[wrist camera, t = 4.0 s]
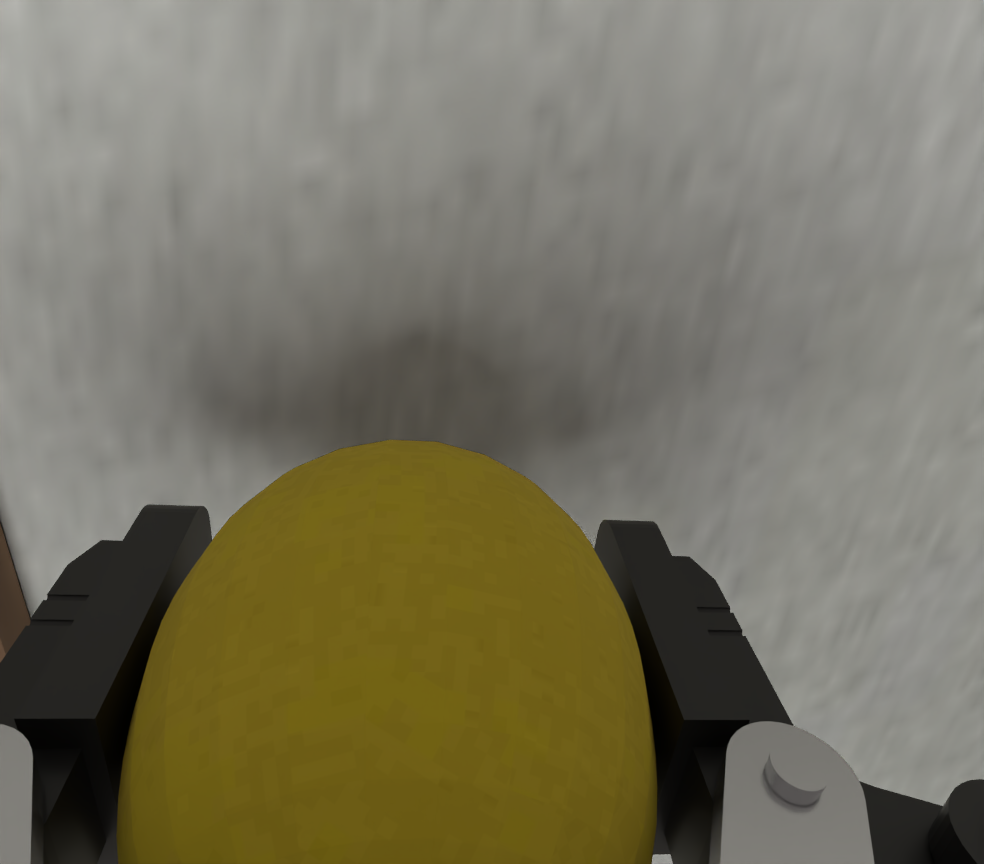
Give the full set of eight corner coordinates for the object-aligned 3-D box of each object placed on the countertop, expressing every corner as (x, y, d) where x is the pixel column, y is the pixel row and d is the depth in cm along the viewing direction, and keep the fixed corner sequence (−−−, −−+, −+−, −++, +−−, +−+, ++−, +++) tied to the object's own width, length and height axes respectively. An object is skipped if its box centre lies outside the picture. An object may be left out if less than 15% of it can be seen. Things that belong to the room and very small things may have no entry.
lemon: (220, 336, 10) (-239, 991, 3) (601, 358, 11) (929, 943, 4) (246, 629, 13) (26, 1346, 6) (551, 632, 13) (692, 1280, 6)
